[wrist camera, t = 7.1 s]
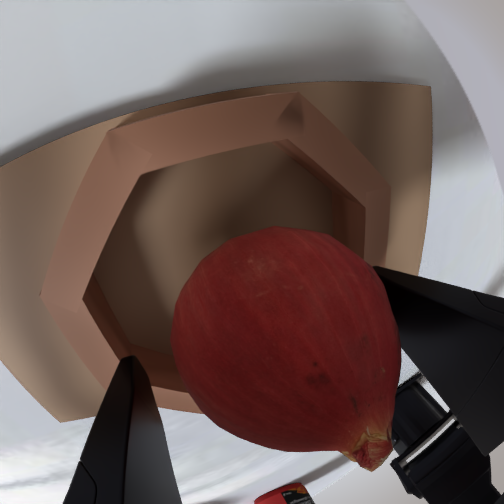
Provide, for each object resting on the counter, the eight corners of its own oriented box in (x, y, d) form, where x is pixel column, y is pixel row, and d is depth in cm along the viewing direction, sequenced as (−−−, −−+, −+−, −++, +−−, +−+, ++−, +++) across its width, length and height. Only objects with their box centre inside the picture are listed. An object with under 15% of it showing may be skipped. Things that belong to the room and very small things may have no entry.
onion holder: (415, 85, 11) (464, 90, 9) (404, 282, 17) (436, 307, 15) (-66, 210, 6) (-106, 242, 3) (60, 408, 12) (60, 453, 9)
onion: (297, 178, 10) (518, 290, 4) (297, 305, 13) (428, 432, 7) (129, 219, 8) (246, 519, 2) (172, 353, 11) (267, 539, 5)
